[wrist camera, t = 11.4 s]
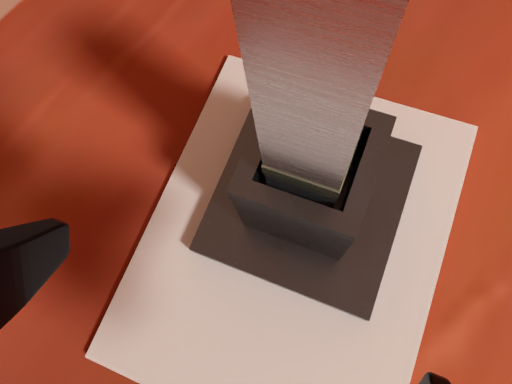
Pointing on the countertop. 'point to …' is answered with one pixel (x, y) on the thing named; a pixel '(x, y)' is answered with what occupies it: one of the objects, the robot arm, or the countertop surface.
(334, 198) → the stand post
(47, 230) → the robot arm
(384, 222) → the iron stand
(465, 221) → the countertop surface
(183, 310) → the rubber mat
